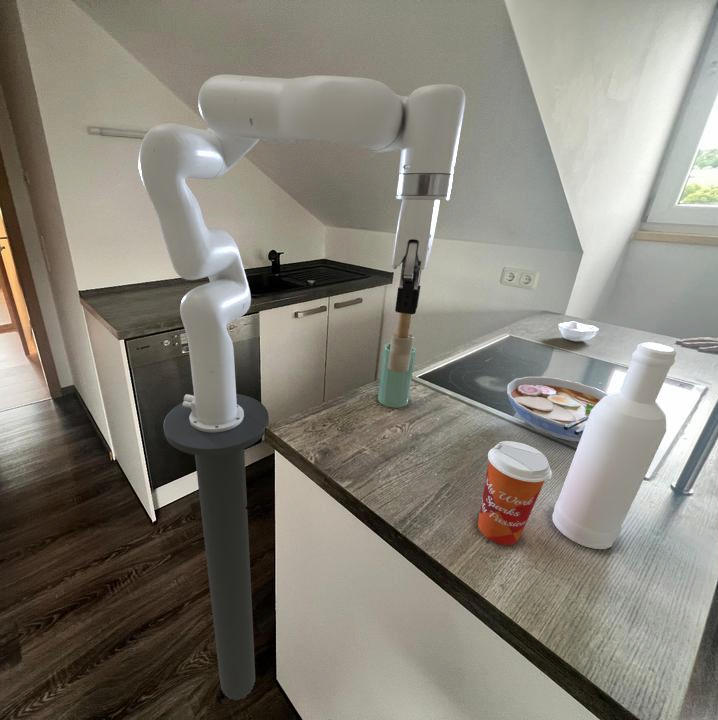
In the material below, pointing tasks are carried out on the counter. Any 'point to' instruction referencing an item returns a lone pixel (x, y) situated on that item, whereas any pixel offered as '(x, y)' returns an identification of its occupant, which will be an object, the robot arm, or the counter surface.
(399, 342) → the brush
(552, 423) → the ramen bowl
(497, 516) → the paper cup
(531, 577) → the counter surface
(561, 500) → the bottle
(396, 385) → the cylindrical holder
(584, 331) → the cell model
